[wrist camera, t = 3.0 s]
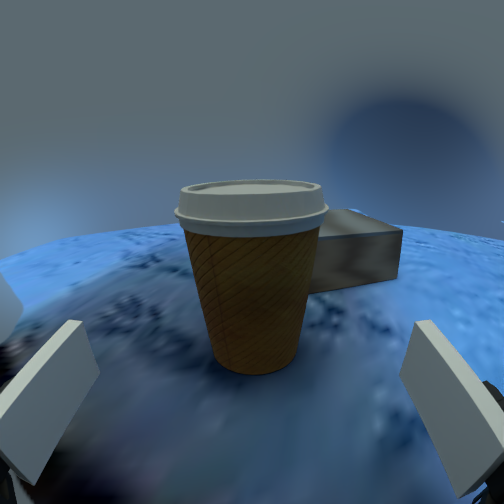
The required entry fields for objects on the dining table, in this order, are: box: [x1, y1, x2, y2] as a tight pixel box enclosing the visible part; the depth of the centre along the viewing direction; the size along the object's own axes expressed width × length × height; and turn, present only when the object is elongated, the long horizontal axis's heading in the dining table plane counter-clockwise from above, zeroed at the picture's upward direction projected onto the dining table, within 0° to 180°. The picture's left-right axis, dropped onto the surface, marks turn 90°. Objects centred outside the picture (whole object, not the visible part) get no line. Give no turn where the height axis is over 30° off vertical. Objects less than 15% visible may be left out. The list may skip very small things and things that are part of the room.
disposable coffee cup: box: [174, 180, 329, 375], centre depth 20 cm, size 10×10×12 cm
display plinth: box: [308, 209, 403, 294], centre depth 37 cm, size 13×13×6 cm
